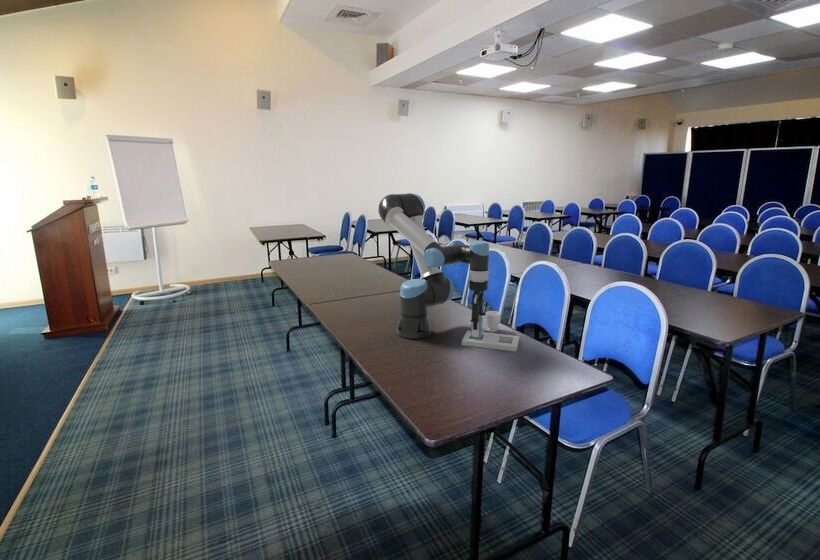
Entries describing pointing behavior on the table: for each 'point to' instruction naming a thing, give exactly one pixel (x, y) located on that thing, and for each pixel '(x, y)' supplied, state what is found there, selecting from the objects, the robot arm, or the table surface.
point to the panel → (492, 341)
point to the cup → (492, 320)
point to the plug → (479, 328)
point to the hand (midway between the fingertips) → (476, 333)
